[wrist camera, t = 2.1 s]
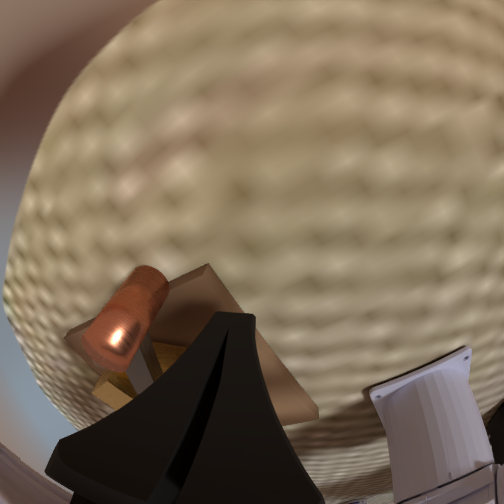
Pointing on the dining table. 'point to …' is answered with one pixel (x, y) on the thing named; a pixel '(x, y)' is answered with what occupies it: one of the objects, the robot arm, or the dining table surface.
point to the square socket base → (192, 323)
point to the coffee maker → (497, 436)
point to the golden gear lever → (130, 339)
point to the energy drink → (357, 501)
